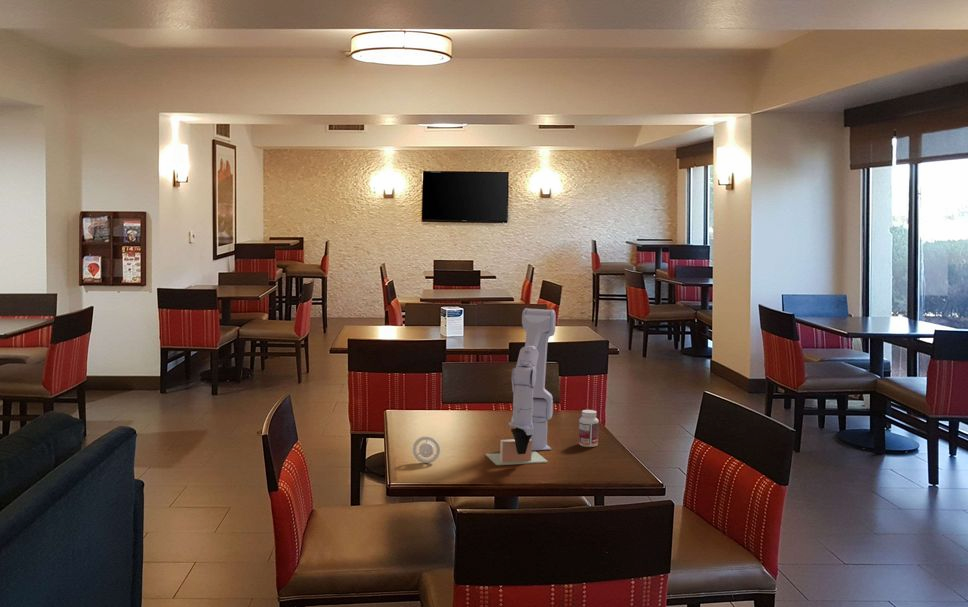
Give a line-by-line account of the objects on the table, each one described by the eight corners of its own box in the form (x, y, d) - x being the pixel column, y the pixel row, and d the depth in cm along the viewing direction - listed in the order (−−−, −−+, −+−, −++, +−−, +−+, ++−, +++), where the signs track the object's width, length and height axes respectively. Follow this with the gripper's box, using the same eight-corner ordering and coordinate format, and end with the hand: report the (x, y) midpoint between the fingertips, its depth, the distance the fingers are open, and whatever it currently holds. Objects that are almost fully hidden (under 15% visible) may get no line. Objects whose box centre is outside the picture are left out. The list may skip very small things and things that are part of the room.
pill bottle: (594, 442, 292) (595, 409, 291) (600, 447, 286) (601, 413, 285) (576, 442, 291) (577, 409, 290) (581, 447, 285) (582, 413, 284)
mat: (485, 455, 273) (485, 453, 273) (535, 452, 277) (535, 451, 277) (496, 465, 262) (496, 463, 262) (547, 462, 267) (547, 461, 267)
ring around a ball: (440, 462, 264) (441, 435, 263) (438, 467, 258) (438, 440, 257) (413, 460, 264) (413, 434, 263) (410, 466, 259) (411, 439, 258)
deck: (499, 459, 267) (500, 439, 266) (528, 458, 269) (529, 438, 269) (502, 461, 264) (503, 441, 264) (531, 460, 267) (531, 440, 266)
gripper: (502, 402, 267) (500, 447, 268) (517, 413, 253) (516, 460, 254) (524, 402, 269) (523, 446, 270) (541, 412, 255) (539, 459, 256)
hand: (521, 453), depth 262 cm, fingers closed
